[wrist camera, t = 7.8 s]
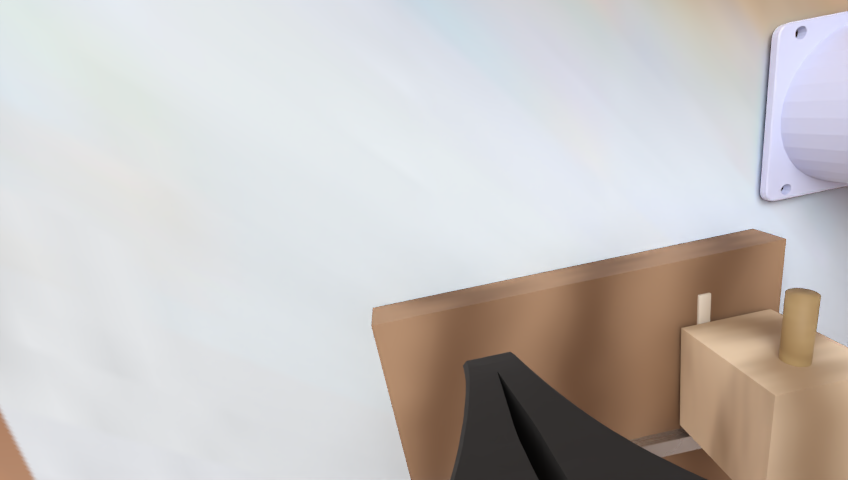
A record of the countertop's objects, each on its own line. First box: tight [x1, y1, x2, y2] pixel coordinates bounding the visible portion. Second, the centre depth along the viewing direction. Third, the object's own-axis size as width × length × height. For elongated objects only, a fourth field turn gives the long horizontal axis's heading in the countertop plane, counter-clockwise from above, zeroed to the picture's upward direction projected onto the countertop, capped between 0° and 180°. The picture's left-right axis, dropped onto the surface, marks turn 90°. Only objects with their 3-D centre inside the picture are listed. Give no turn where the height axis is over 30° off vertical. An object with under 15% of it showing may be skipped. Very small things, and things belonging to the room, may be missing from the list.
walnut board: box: [372, 229, 786, 480], centre depth 22 cm, size 20×15×2 cm
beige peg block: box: [680, 288, 848, 480], centre depth 18 cm, size 5×9×5 cm, turn 11°
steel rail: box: [449, 428, 701, 480], centre depth 22 cm, size 20×1×1 cm, turn 100°
